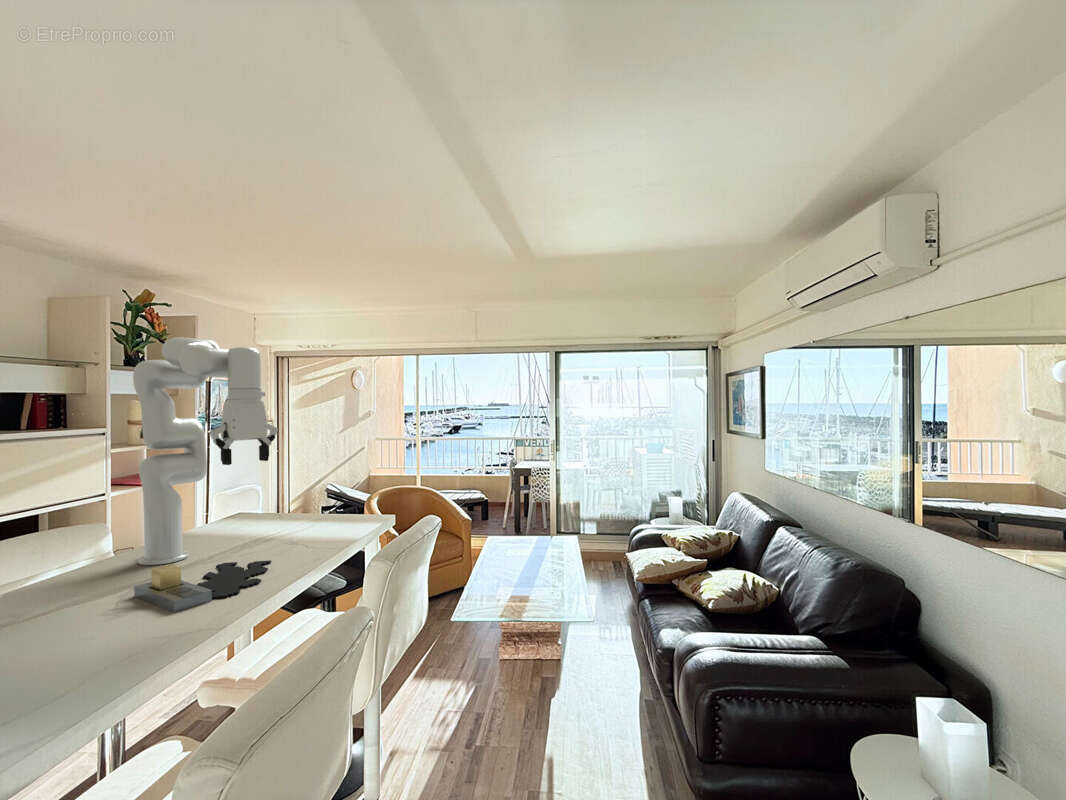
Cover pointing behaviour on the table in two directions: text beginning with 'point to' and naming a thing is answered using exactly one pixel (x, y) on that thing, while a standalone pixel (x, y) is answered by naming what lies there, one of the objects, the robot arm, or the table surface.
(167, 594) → the rail
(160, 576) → the block
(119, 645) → the table surface
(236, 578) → the black pixelated cutout
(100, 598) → the table surface
